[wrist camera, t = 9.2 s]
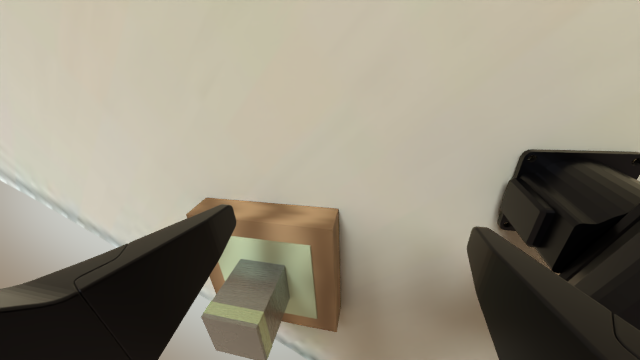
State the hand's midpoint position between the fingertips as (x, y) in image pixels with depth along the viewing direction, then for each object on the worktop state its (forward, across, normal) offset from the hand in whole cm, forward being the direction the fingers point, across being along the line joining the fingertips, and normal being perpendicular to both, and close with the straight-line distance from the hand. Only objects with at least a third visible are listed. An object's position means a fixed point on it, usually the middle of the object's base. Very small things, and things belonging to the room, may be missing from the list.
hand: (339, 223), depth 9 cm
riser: (+11, +9, +14) cm, 20 cm away
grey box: (+8, +9, +14) cm, 18 cm away
